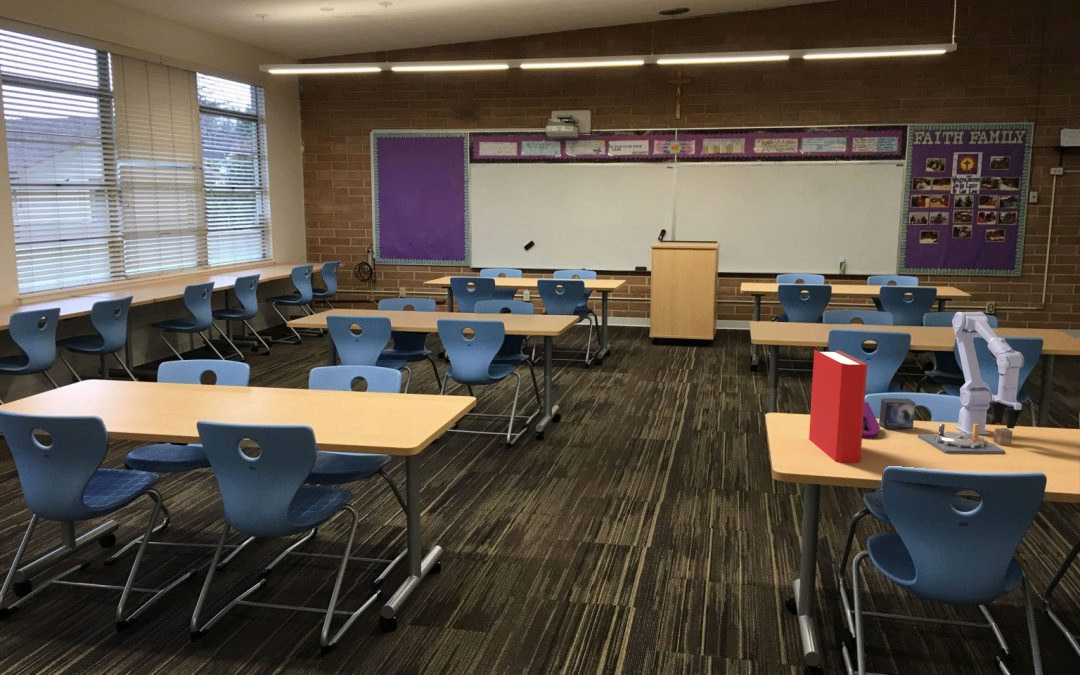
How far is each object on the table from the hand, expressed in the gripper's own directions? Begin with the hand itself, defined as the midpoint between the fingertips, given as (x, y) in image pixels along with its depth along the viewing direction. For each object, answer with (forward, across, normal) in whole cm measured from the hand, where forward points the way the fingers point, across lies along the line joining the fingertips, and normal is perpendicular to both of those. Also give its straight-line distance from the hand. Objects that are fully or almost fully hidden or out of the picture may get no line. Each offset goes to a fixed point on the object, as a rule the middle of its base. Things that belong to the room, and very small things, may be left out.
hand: (1004, 425), depth 294 cm
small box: (+7, -21, -28) cm, 36 cm away
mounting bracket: (+7, -15, -44) cm, 47 cm away
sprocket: (+5, +2, -16) cm, 17 cm away
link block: (+7, 0, 0) cm, 7 cm away
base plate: (+6, +2, -16) cm, 17 cm away
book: (+7, +9, -62) cm, 63 cm away
